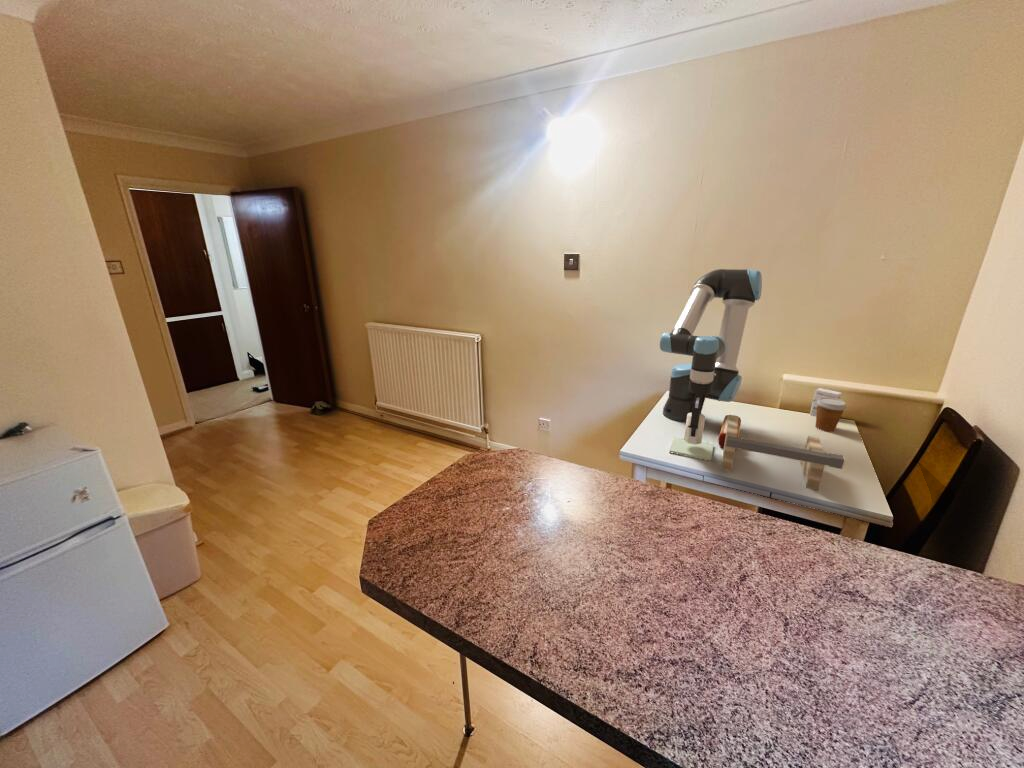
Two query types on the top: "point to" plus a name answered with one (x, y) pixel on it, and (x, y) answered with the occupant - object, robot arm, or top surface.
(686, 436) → the cream rounded wedge
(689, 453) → the pad
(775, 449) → the grey long bar
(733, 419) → the snack package
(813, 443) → the rails
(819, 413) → the disposable coffee cup
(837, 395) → the ink box
